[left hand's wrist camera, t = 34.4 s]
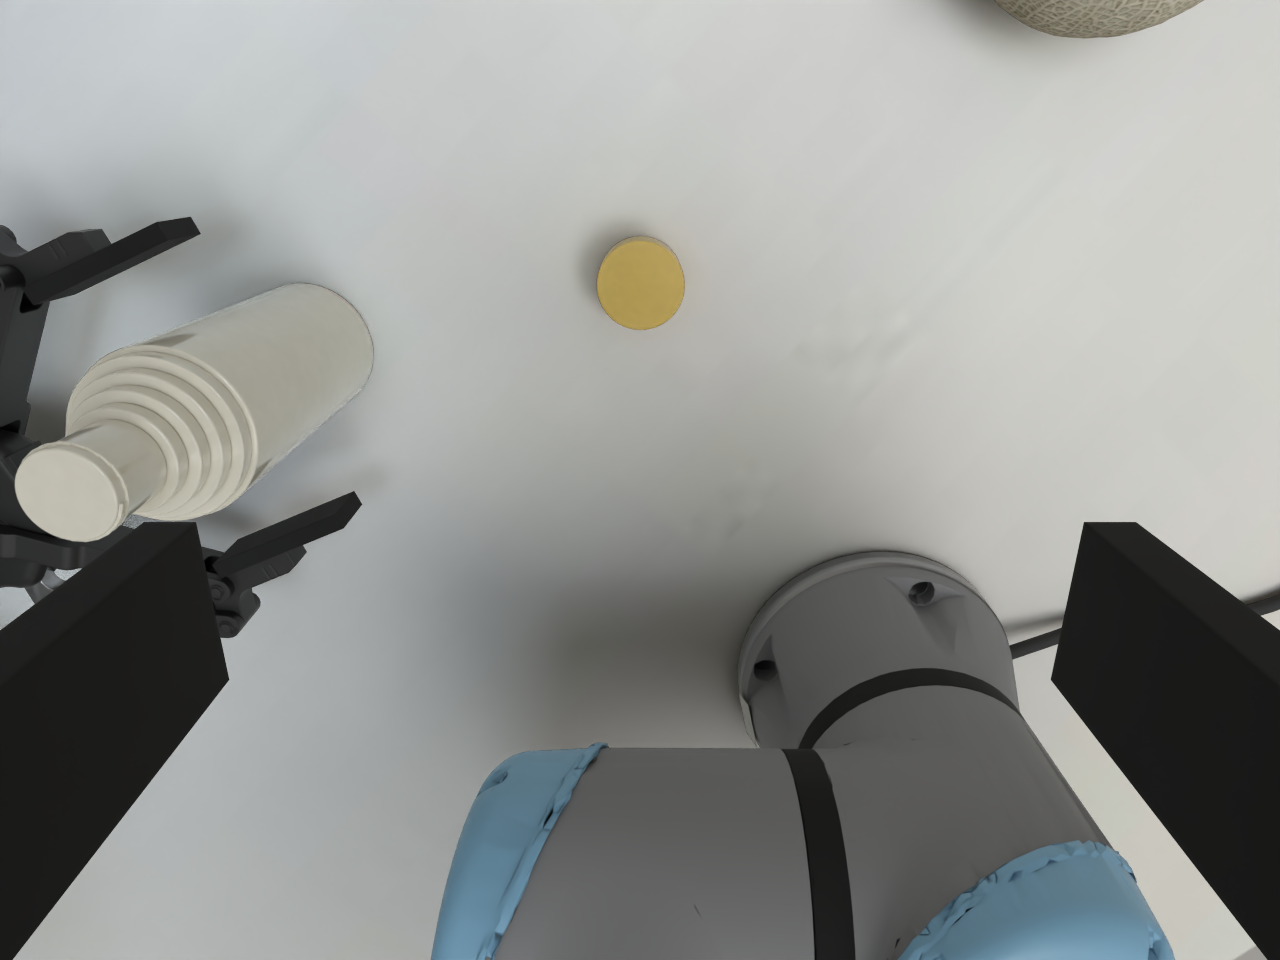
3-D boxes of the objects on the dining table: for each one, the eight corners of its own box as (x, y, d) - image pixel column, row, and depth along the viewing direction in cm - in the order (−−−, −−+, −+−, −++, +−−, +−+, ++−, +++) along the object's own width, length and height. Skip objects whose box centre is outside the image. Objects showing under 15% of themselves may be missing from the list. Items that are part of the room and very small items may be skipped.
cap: (689, 311, 42) (692, 319, 40) (609, 328, 42) (608, 338, 40) (673, 227, 40) (674, 231, 38) (590, 246, 41) (587, 251, 39)
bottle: (235, 384, 43) (-55, 556, 25) (257, 264, 41) (-45, 357, 23) (358, 424, 44) (162, 618, 26) (386, 308, 42) (193, 432, 24)
